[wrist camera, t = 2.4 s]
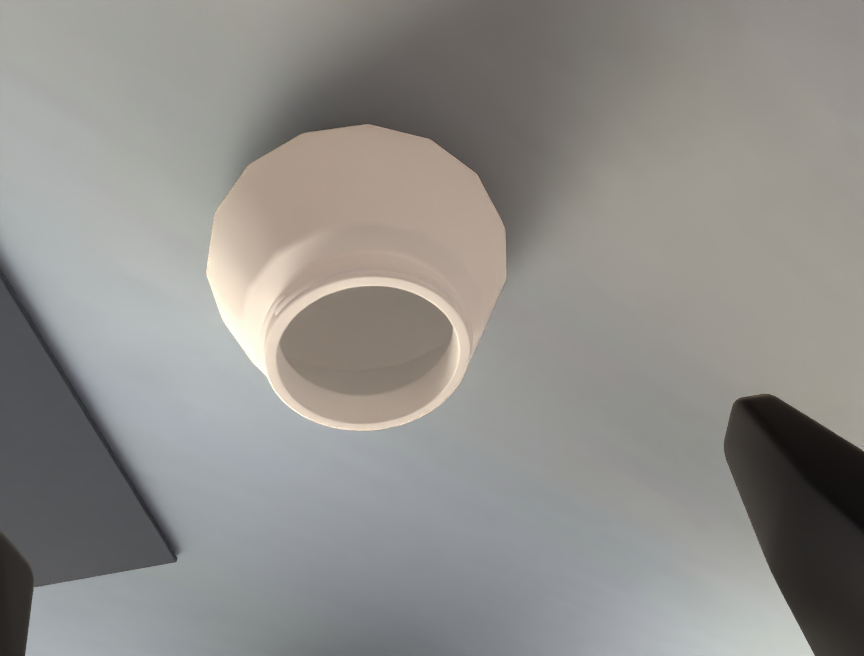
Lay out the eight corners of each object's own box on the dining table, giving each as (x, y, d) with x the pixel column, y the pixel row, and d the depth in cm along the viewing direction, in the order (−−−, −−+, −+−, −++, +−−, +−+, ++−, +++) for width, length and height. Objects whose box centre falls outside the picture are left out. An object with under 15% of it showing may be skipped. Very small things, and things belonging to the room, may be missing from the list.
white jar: (552, 223, 13) (322, 49, 10) (605, 323, 10) (324, 132, 8) (385, 391, 15) (160, 280, 12) (398, 506, 12) (126, 398, 10)
